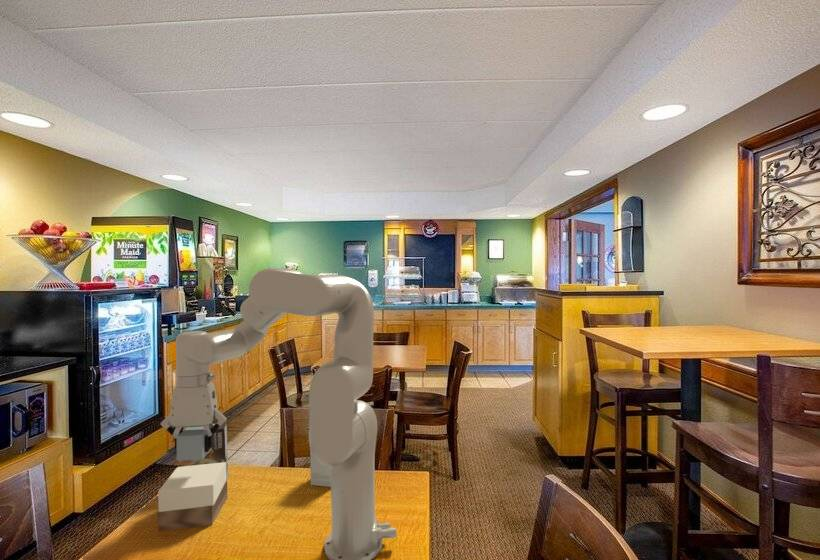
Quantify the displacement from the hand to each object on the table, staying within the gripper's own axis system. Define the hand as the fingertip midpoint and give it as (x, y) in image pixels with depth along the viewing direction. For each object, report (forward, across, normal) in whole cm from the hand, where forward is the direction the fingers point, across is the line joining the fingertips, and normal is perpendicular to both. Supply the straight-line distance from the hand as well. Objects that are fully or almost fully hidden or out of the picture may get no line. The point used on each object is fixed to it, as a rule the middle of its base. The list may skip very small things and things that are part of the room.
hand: (194, 450), depth 100 cm
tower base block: (+16, 0, 0) cm, 16 cm away
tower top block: (+11, 0, 0) cm, 11 cm away
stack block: (+1, 0, 0) cm, 1 cm away
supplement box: (+16, -32, -11) cm, 38 cm away
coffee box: (+16, +2, -16) cm, 23 cm away
